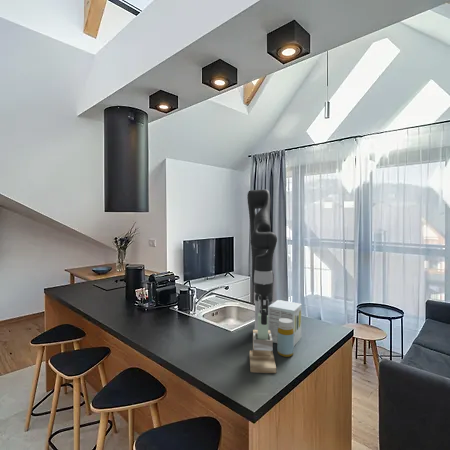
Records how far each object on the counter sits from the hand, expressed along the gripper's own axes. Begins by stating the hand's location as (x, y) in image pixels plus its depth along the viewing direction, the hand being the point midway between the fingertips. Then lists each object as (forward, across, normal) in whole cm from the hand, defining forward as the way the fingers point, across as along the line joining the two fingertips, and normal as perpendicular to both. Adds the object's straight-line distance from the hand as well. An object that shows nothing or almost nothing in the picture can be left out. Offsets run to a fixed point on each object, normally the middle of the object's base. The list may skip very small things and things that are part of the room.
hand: (263, 320), depth 117 cm
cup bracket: (+19, -1, 0) cm, 19 cm away
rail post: (+10, 0, 0) cm, 10 cm away
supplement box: (+19, -26, +13) cm, 35 cm away
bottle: (+19, -11, +11) cm, 24 cm away
